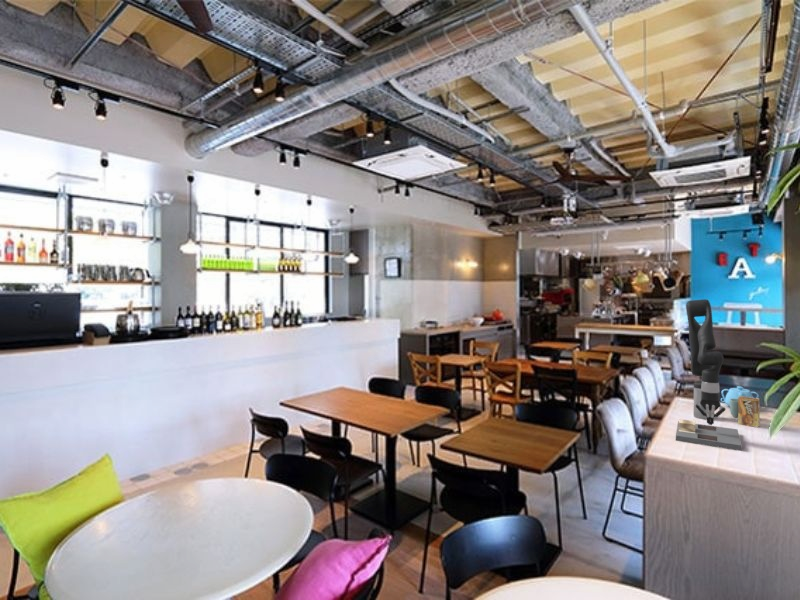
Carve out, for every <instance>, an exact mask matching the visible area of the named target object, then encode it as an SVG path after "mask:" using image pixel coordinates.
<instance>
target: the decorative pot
mask: <svg viewBox="0 0 800 600" xmlns="http://www.w3.org/2000/svg"><path fill="white" fill-rule="evenodd" d="M724 392H726V394H724ZM720 393H721V396H722V397H721V398H720V403H721V402H722V403H725V404H726V406H728V407H729V408H730V399H738V397H739V396H744V397H752V398H755V397H754V396H753V394H755V396H756V398H759V399H760V395H759V393H758V392H756V391H750V389H748V388H744V387H743V386H739V385H738V386H736V387H730V388H729V389H728V388H724V389H722V390H721V392H720Z"/></svg>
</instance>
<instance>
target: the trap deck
mask: <svg viewBox="0 0 800 600" xmlns="http://www.w3.org/2000/svg"><path fill="white" fill-rule="evenodd" d="M739 433H740V432H739V430H738V429H737V428H730V427H723V426H715V425H709V424H699V423H695V432H688V431H681V430H679V420H678V422H677V426H676V432H675V441H678V442H683V443H690V444H696V445H704V446H710V447H715V448H721V449H728V450H734V451H742V450H743V449H742V448H743V446H742V442H741V438H740V434H739Z"/></svg>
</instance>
